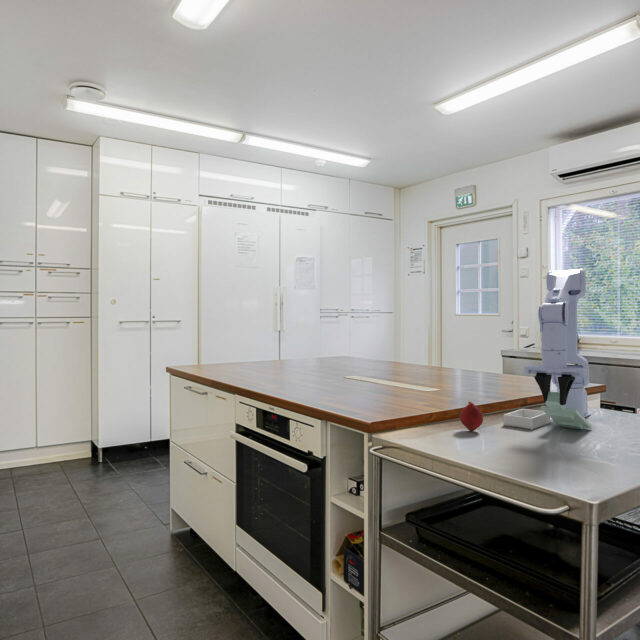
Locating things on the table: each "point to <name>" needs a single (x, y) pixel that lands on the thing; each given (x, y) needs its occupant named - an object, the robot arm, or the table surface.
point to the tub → (526, 419)
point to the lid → (564, 413)
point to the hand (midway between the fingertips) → (555, 403)
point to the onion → (471, 416)
